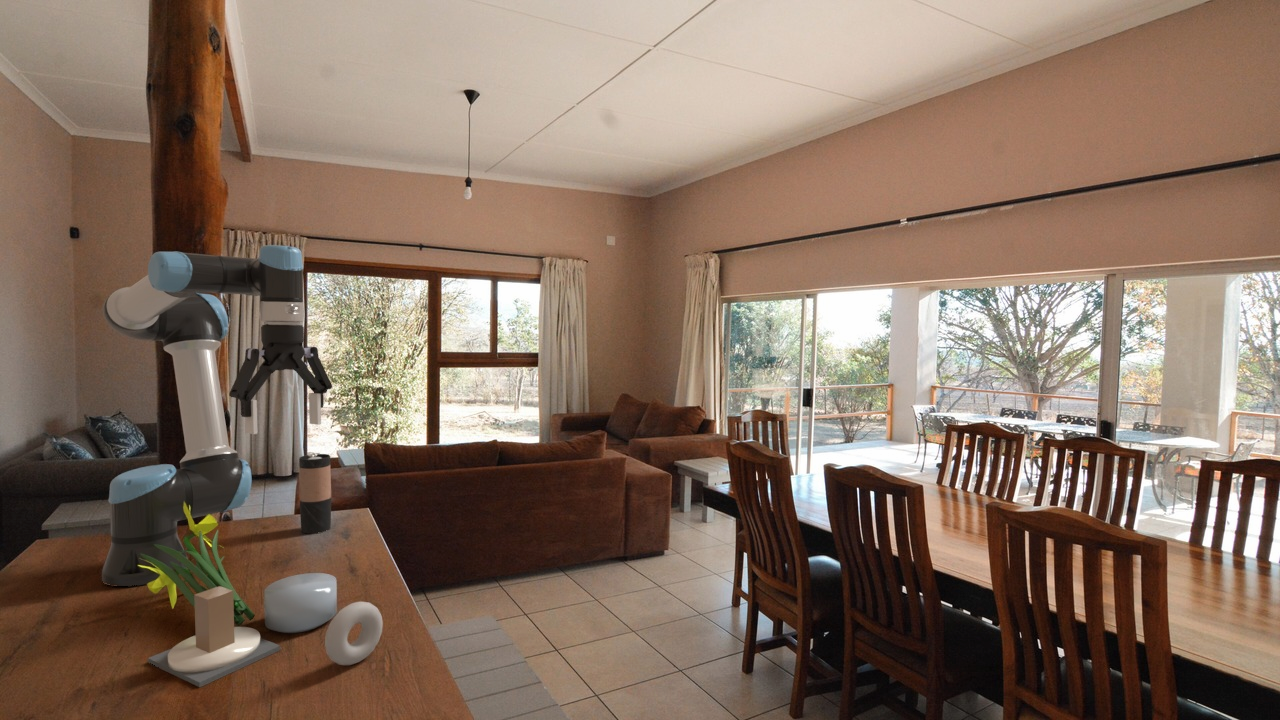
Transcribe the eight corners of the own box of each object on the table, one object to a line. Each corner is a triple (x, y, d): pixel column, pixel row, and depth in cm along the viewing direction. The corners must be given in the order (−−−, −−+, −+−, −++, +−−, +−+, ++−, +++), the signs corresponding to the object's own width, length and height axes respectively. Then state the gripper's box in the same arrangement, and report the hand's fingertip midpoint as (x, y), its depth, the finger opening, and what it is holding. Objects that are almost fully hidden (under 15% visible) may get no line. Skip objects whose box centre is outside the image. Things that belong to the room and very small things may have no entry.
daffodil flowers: (162, 657, 108) (105, 561, 129) (240, 666, 120) (177, 576, 140) (227, 565, 113) (162, 486, 133) (297, 583, 124) (227, 507, 144)
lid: (151, 659, 106) (149, 599, 105) (232, 627, 117) (230, 572, 117) (196, 680, 100) (194, 616, 99) (276, 644, 111) (275, 586, 111)
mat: (148, 662, 106) (147, 658, 106) (229, 629, 118) (228, 625, 118) (199, 687, 100) (199, 682, 99) (280, 650, 111) (280, 645, 111)
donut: (374, 646, 113) (374, 590, 112) (387, 652, 111) (386, 595, 110) (320, 672, 104) (319, 612, 104) (333, 679, 102) (332, 617, 102)
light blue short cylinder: (250, 627, 119) (249, 590, 119) (310, 602, 130) (309, 568, 129) (292, 643, 113) (291, 604, 113) (350, 615, 124) (350, 580, 124)
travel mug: (318, 535, 170) (317, 460, 169) (293, 533, 172) (292, 458, 171) (337, 526, 178) (336, 454, 177) (313, 524, 179) (312, 453, 178)
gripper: (229, 323, 117) (232, 439, 118) (348, 324, 139) (350, 421, 140) (206, 323, 120) (209, 436, 122) (325, 323, 142) (327, 419, 144)
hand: (284, 428), depth 131 cm, fingers open, 13 cm apart
